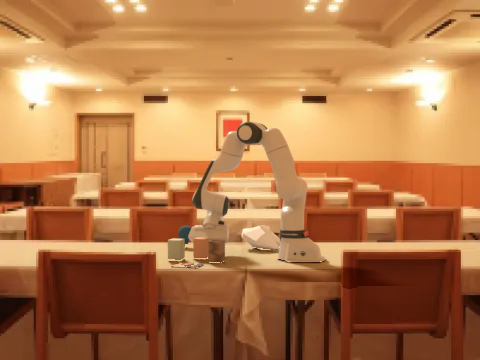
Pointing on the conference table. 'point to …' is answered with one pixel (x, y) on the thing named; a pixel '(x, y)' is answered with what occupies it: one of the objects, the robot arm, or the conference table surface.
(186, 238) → the light bulb
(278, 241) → the paper
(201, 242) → the terracotta block
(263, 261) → the conference table surface
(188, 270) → the conference table surface
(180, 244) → the sage block
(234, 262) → the conference table surface
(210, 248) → the walnut block
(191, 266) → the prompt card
